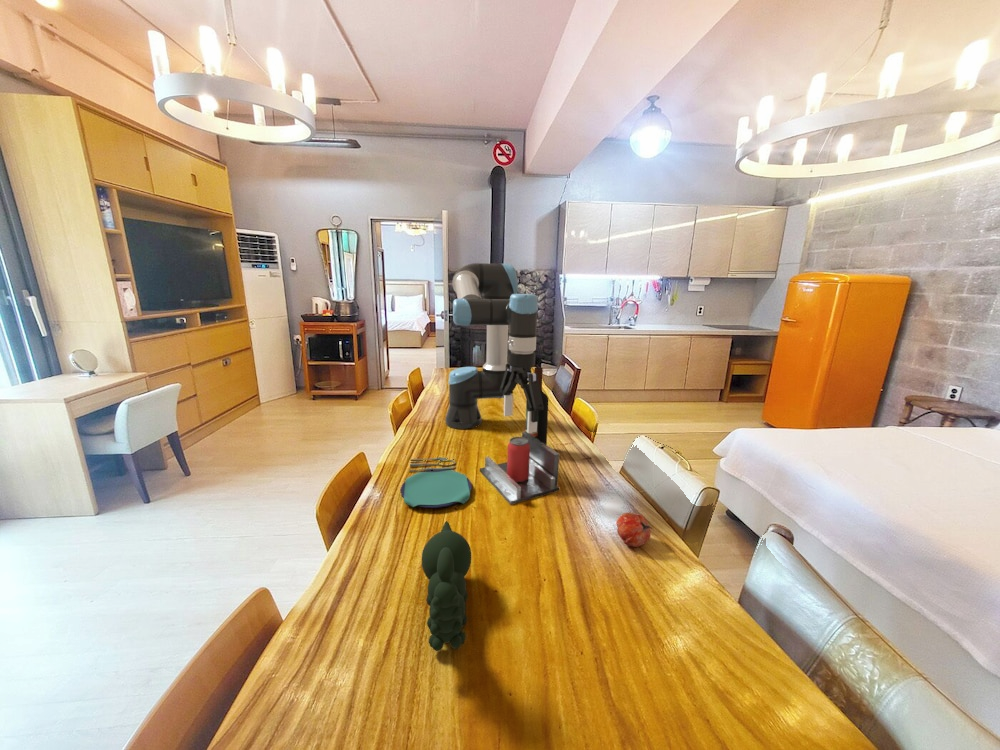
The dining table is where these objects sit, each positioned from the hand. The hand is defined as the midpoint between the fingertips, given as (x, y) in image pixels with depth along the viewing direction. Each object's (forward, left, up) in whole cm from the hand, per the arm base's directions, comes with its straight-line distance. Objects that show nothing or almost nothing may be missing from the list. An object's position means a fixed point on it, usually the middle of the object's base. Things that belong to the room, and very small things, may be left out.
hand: (519, 423), depth 107 cm
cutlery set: (-9, -22, -19) cm, 31 cm away
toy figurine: (+33, -34, -19) cm, 51 cm away
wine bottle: (-15, +16, -18) cm, 28 cm away
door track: (0, 0, -18) cm, 18 cm away
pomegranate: (+35, +10, -19) cm, 41 cm away
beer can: (0, 0, -17) cm, 17 cm away
